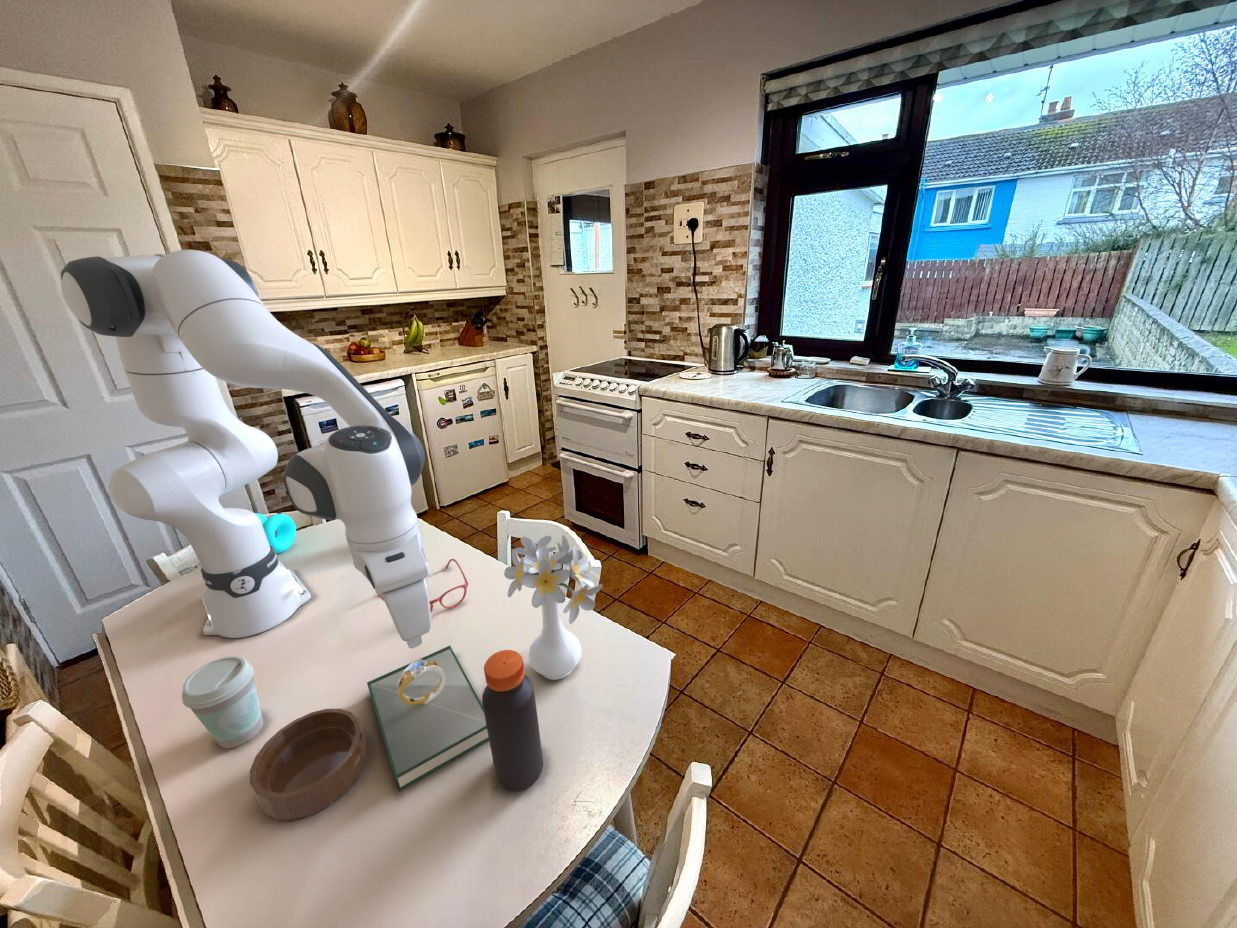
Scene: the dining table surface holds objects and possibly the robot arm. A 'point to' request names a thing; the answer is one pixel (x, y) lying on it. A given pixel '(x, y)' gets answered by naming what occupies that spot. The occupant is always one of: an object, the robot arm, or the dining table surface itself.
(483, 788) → the dining table surface
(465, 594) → the red eyeglasses
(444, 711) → the book
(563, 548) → the flower vase
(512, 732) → the vinegar
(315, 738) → the bowl
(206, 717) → the coffee cup
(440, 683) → the ring
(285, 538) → the cyan rounded piece
